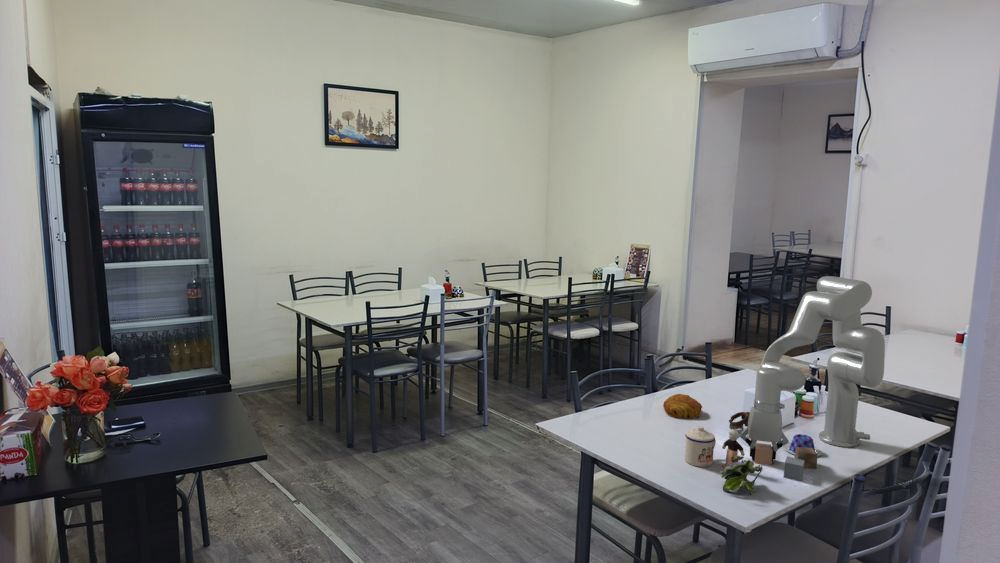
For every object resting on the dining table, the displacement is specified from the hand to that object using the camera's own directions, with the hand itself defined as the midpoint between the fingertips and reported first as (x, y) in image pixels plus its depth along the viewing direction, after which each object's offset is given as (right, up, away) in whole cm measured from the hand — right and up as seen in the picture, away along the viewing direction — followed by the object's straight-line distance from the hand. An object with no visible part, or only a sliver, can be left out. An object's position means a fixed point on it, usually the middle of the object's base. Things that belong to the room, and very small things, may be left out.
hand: (762, 459), depth 207 cm
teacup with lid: (-20, 0, 0) cm, 20 cm away
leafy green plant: (-14, -4, -20) cm, 24 cm away
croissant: (-13, +6, +43) cm, 46 cm away
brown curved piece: (+4, +3, +26) cm, 26 cm away
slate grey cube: (+5, -2, -11) cm, 12 cm away
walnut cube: (+13, -1, -2) cm, 13 cm away
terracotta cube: (0, -1, 0) cm, 1 cm away
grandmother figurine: (-12, -1, -6) cm, 13 cm away
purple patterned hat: (+17, 0, +9) cm, 19 cm away
